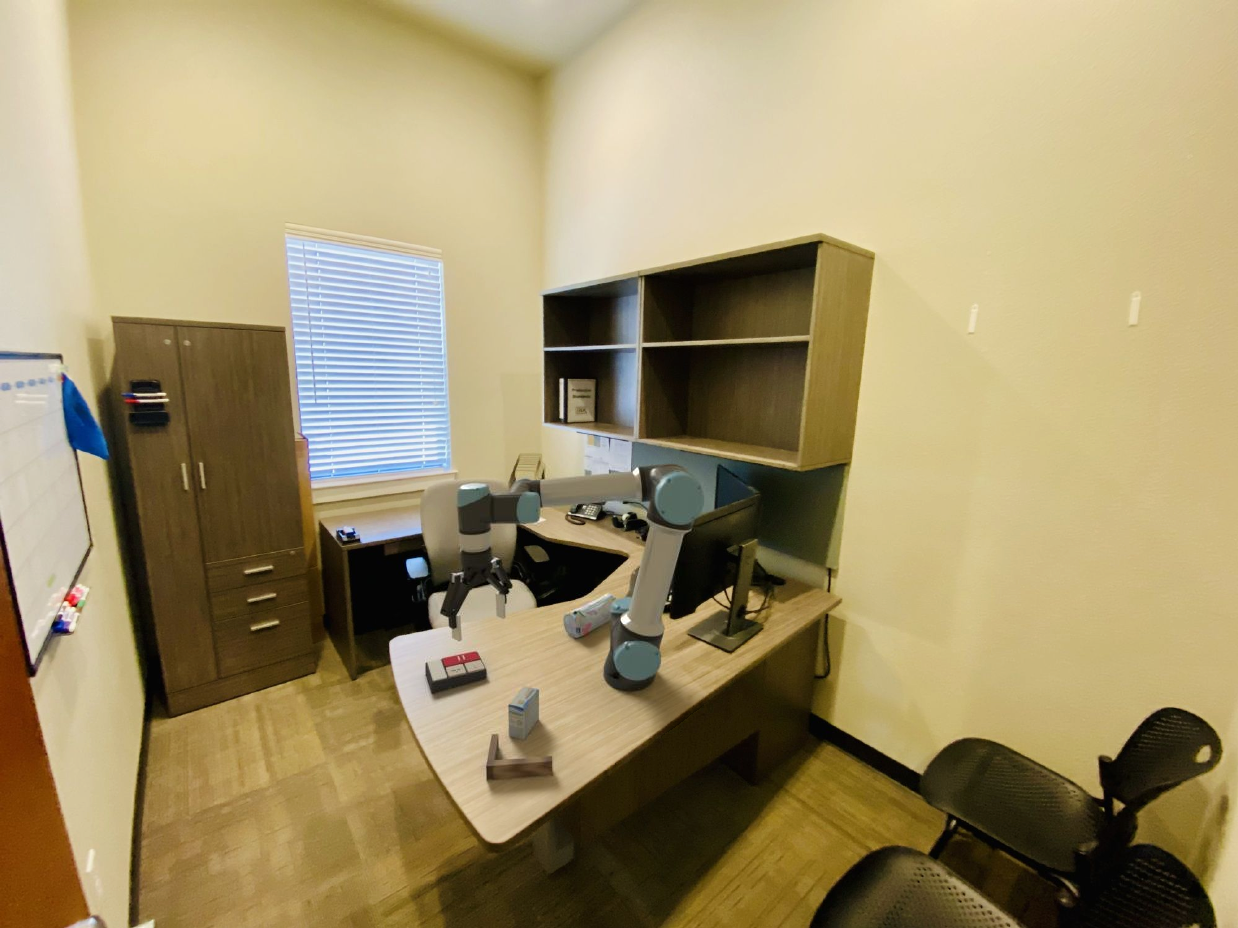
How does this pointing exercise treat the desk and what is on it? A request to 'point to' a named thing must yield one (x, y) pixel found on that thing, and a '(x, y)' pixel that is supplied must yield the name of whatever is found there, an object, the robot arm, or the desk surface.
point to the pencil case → (588, 616)
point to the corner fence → (515, 765)
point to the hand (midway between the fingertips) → (480, 627)
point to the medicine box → (523, 712)
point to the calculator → (454, 671)
